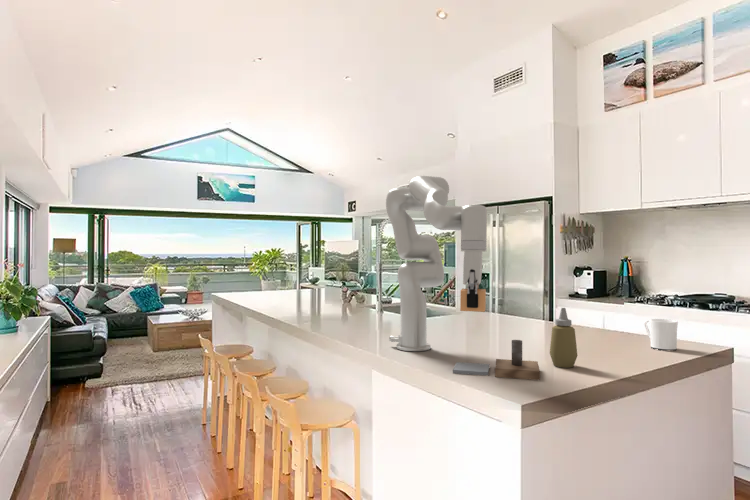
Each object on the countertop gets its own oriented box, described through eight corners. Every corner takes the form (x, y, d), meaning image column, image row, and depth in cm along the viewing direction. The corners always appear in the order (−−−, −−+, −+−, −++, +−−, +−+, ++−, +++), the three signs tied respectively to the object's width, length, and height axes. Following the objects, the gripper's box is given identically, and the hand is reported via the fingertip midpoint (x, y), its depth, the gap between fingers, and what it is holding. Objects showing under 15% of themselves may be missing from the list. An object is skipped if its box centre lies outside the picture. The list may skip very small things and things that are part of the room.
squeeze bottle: (544, 366, 148) (544, 308, 149) (556, 361, 154) (556, 305, 154) (570, 370, 143) (570, 310, 143) (581, 366, 148) (581, 308, 148)
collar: (460, 310, 141) (460, 290, 141) (462, 307, 148) (462, 288, 148) (484, 311, 139) (484, 291, 139) (485, 308, 146) (485, 289, 146)
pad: (452, 373, 140) (452, 369, 140) (456, 365, 149) (456, 362, 149) (488, 375, 137) (488, 372, 137) (489, 367, 147) (489, 364, 147)
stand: (495, 377, 136) (495, 343, 136) (496, 367, 147) (496, 336, 147) (539, 380, 132) (539, 345, 132) (537, 369, 144) (537, 338, 144)
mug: (681, 349, 173) (681, 320, 174) (672, 352, 168) (672, 323, 168) (649, 344, 182) (649, 317, 182) (639, 347, 177) (639, 319, 177)
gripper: (463, 246, 152) (462, 302, 153) (458, 246, 136) (457, 309, 136) (487, 246, 151) (487, 303, 151) (485, 246, 134) (484, 310, 134)
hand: (473, 305), depth 143 cm, fingers closed on collar, 7 cm apart
